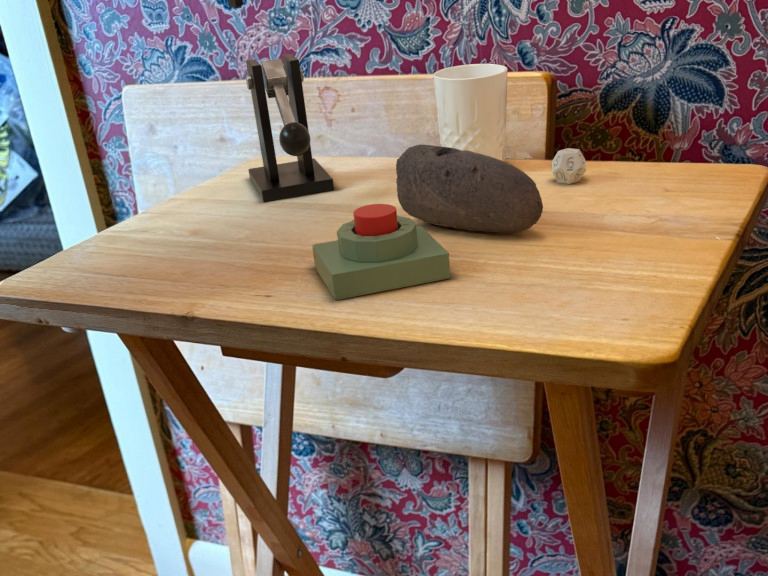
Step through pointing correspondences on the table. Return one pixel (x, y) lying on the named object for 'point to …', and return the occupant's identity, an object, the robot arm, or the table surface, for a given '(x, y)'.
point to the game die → (568, 166)
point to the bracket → (273, 177)
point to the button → (375, 220)
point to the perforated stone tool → (466, 190)
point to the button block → (380, 260)
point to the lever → (284, 108)
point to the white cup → (472, 108)
